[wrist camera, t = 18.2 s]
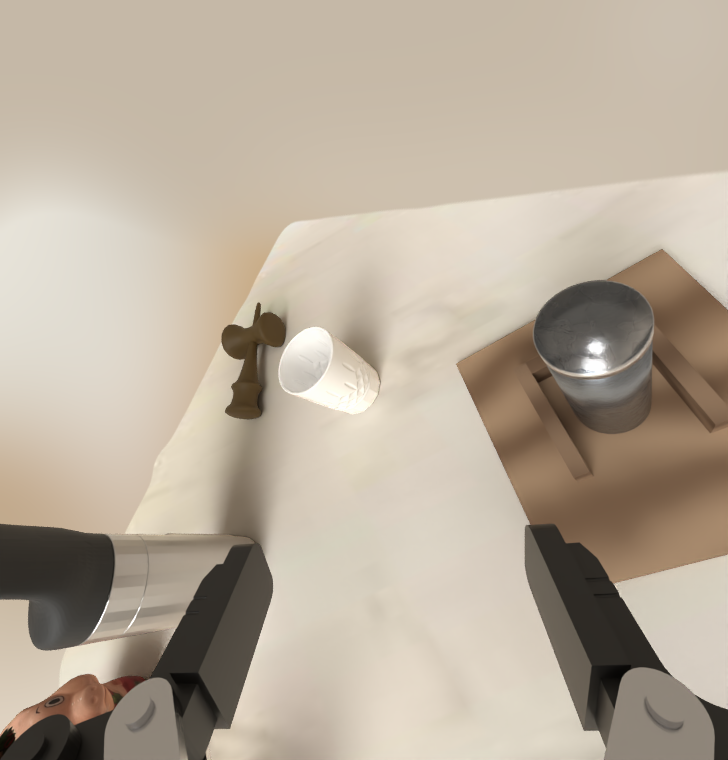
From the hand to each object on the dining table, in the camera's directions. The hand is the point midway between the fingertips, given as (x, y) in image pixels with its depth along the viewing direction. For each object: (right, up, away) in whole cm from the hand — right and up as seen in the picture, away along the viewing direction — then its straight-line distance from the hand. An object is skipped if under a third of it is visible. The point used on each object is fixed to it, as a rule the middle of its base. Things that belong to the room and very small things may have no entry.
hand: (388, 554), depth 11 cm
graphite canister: (+19, +4, +19) cm, 27 cm away
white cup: (-1, +4, +36) cm, 36 cm away
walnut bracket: (+20, +3, +19) cm, 28 cm away
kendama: (-17, +8, +50) cm, 53 cm away
